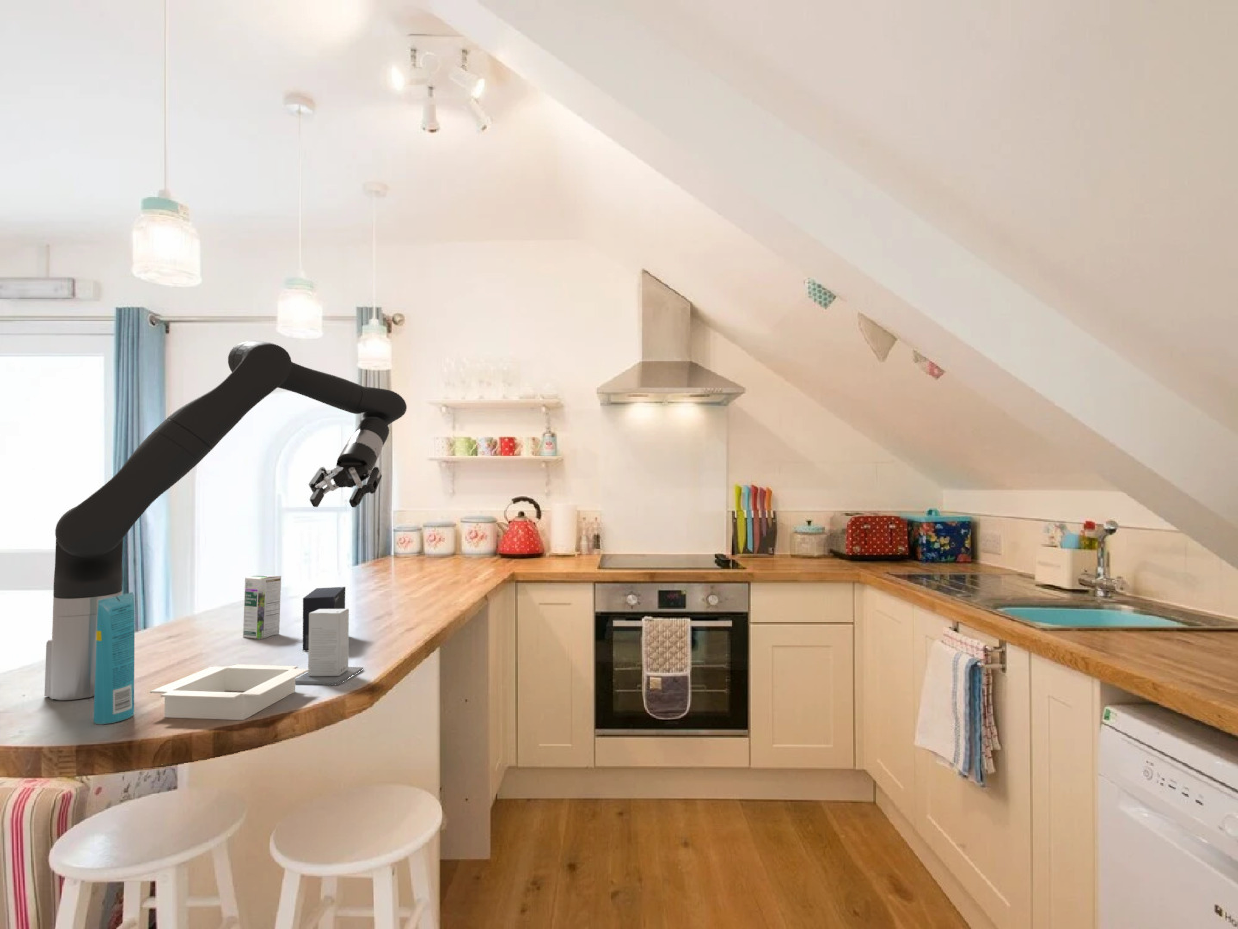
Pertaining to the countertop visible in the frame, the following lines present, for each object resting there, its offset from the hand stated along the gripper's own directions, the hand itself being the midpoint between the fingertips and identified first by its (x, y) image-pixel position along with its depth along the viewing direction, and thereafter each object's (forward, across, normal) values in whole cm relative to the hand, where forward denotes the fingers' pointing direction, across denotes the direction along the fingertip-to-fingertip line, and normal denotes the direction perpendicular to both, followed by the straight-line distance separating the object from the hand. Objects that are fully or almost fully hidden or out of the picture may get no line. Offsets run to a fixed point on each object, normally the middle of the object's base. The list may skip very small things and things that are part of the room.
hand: (332, 504), depth 128 cm
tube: (+47, -16, -1) cm, 50 cm away
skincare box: (+30, +6, +15) cm, 34 cm away
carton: (+41, -2, +5) cm, 42 cm away
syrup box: (+10, -28, +36) cm, 47 cm away
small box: (+14, -9, +33) cm, 37 cm away
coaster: (+31, +6, +16) cm, 35 cm away
